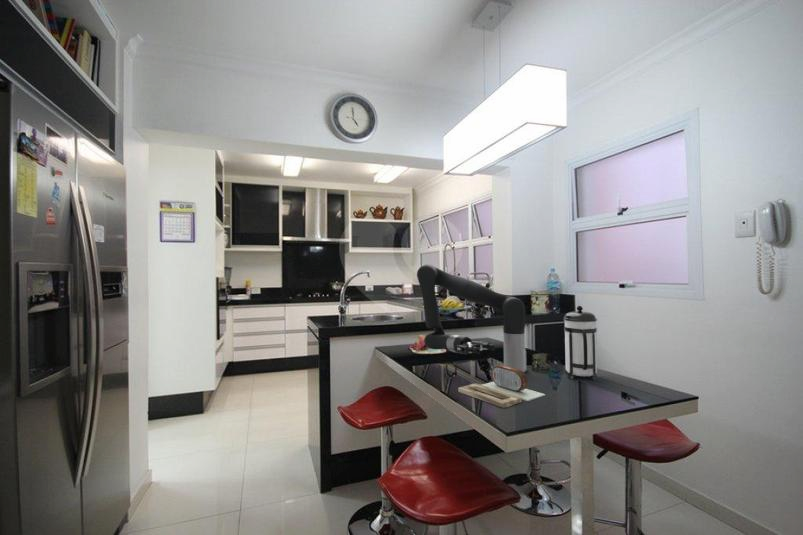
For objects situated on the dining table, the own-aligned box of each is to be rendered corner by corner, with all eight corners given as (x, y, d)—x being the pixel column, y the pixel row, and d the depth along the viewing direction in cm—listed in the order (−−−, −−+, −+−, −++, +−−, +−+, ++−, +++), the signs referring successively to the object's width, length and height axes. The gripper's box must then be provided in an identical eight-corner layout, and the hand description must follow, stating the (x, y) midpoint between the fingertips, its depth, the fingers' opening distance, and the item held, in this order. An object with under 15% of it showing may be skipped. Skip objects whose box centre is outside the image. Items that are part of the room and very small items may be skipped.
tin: (527, 393, 136) (527, 370, 136) (522, 394, 134) (521, 371, 134) (496, 383, 148) (495, 362, 148) (490, 384, 146) (490, 363, 147)
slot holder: (476, 387, 146) (475, 383, 146) (521, 402, 128) (521, 397, 128) (458, 391, 140) (458, 387, 140) (503, 408, 123) (503, 403, 123)
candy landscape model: (404, 347, 228) (403, 332, 228) (439, 344, 235) (439, 330, 235) (417, 355, 204) (417, 338, 205) (456, 352, 211) (456, 336, 212)
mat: (497, 381, 152) (497, 380, 152) (545, 395, 134) (545, 394, 134) (480, 386, 147) (480, 384, 147) (527, 401, 129) (527, 399, 129)
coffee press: (552, 374, 162) (551, 305, 162) (579, 370, 168) (577, 303, 169) (586, 385, 146) (584, 308, 146) (614, 380, 152) (613, 306, 153)
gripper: (446, 337, 160) (474, 342, 146) (470, 333, 168) (498, 337, 154) (447, 355, 159) (474, 361, 146) (471, 350, 168) (499, 356, 154)
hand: (486, 349), depth 150 cm, fingers open, 8 cm apart
